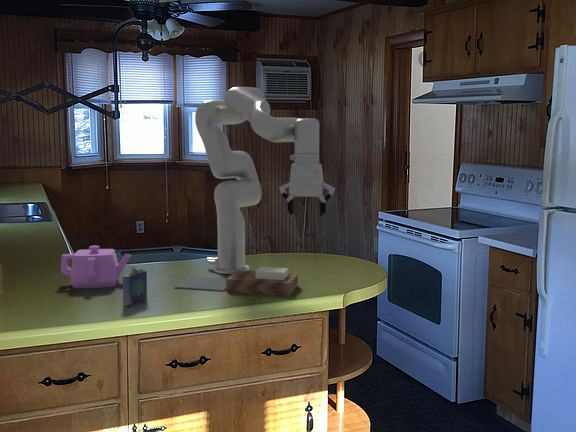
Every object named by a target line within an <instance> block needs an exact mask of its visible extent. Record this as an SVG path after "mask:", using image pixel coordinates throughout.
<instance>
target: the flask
mask: <svg viewBox="0 0 576 432" xmlns="http://www.w3.org/2000/svg"><path fill="white" fill-rule="evenodd" d="M130 269H131V270H130V272H129V273H127V274H124V275H122V305H123V307H126V308H127V307H132V305H133V306H135V305H137V303H138V304H139V303H143V302H146V301H147V300H148V285H147V283H148V281H147V275H148V274H147V273H148V271H147V270H145V269H140V268H139V269H137V267H135V266H134V265H132V266H130Z"/></svg>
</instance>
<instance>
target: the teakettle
mask: <svg viewBox="0 0 576 432" xmlns="http://www.w3.org/2000/svg"><path fill="white" fill-rule="evenodd" d="M131 257H132V254H129V253H125V254H124V256H123V257H122V259H121V260H120V261H119V263H118V257H117V254H116V250H115V249H114V248H100V246H99V245H90V246H89V248H88V249H78V250H77V251H76V252H75V253H67V254H66V253H65V254H62V255H61V258H60V259H61V260H60V272H61V273H62V274H64V275H65V276H68V277H70V283H71V286H72V288H73V289H99V288H100V289H102V288H114V287H115V286H116V285H117V283H118V280H119V276H120V275H121V273H122V272H123V269H124V268H125V266H126V265H127V263H128V262H129V260H130V258H131ZM69 260H72V262H71V267H70V266H69Z"/></svg>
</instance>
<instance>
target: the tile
mask: <svg viewBox="0 0 576 432" xmlns="http://www.w3.org/2000/svg"><path fill="white" fill-rule="evenodd" d="M255 271H256V279H272V280H284V279H285V278H286V277H287V276H288V273H289V267H287V268H286V267H272V266H271V267H270V266H260V267H258V268H257V269H256V270H255Z"/></svg>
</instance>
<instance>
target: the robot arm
mask: <svg viewBox="0 0 576 432" xmlns="http://www.w3.org/2000/svg"><path fill="white" fill-rule="evenodd" d="M270 114H271V106H270V103H269V102H268V100H266V96H265V94H264V92H263V91H262V90H261V89H259V88H258V87H252V86H250V87H249V86H235V87H231V88H230V89H228V90H227V91H226V93H225V95H224V98H223V99H208V100H205V101H202V102H201V103H199V104H198V106H197V107H196V111H195V115H194V121H195V122H194V123H195V127H196V129H197V132H198V135H199V136H200V138H201V141H202V143H203V146H204V150H205V154H206V157H207V161H208V163H209V168H210V170H211V173H212V175H213V176H214V177H215V178H216V179H221V180H223V179H233V180H225V181H223V182H220V183H219V184H217V186H215V188H214V192H213V199H214V202H215V208H216V217H217V218H216V219H217V220H216V221H217V226H216V227H217V256H216V257H207V258H206V263H207V264H208V265H214V267H213V271H214V272H215V273H217V274H221V275H232V274H234V273H235V272H236V271H238V270H241V271H250V266H249V265H248V264H246V222H245V221H246V220H245V217H244V214H243V213H242V210H241V209H240V208H244V207H252V206H255V205H257V204H258V203H260V201H261V199H262V188H261V183H260V180H259V177H258V173H257V171H256V170H257V169H256V167H255V164H254V161H253V158H252V157H251V156H250V154H249V153H248V152H246V151H243V150H232V148H231V147H230V143H229V140H228V137H227V135H226V133H224V132H223V130H222V129H221V128H220V127H219V125H238V124H241V123H243V122H246V121H248V122H249V123H250V126H251V129H252V131H253V132H254V133H255V134H256V135H258V136H260V137H261V138H262V139H265V140H266V141H268V142H271V143H294V153H293V154H290V155H289V160H291V161H293V162H294V163H291V166H290V173H289V182H287V183H285V184H283V185H280V186H279V188H278V190H279V192H280V194H281V196H282V197H283V198H284V200H285V201H286V202H287V212H289V213H288V214H289V215H293V214H294V213H295V207H294V206H295V203H294V201H293V200H294V198H295V197H307V198H309V197H310V198H311V197H313V198H314V197H315V198H317V197H318V200H320V203H319V215H320V216H322V217H323V216H324V215H325V214H326V212H327V202H328V200H330V199H331V198H332V196H333V194H334V193H335V190H336V188H335V187H333V186H331V185H330V184H328V183H327V182H324V174H323V166H322V163H320V121H319V120H318V119H317V118H307V117H305V118H303V117H302V118H299V117H274V116H272V115H270ZM234 179H236V180H234ZM287 188H288V190H289V193H288V192H286V189H287ZM325 189H326V190H328V193H327V195H326V196H325V195H324V191H325Z"/></svg>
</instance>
